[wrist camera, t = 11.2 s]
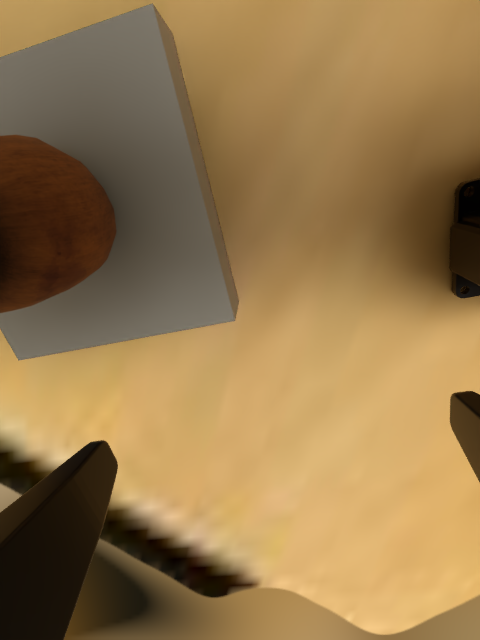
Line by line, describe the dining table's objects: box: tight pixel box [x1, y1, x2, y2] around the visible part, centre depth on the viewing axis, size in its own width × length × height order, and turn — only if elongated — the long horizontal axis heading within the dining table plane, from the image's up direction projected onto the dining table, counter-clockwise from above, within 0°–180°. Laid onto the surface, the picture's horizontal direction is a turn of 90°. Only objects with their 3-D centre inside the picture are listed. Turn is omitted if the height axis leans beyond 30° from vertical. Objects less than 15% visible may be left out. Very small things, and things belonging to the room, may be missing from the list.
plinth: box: [0, 3, 239, 360], centre depth 18 cm, size 14×14×3 cm
